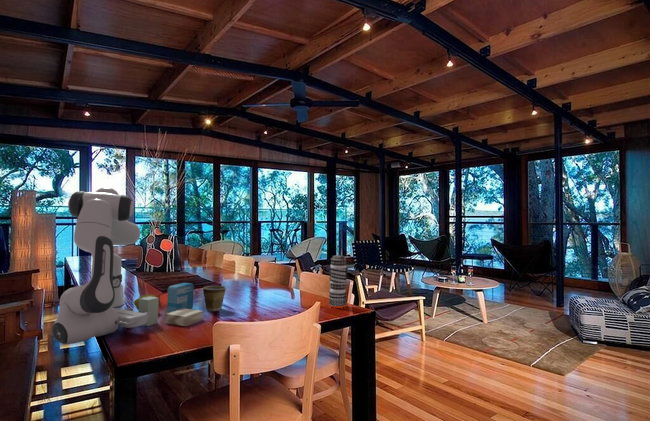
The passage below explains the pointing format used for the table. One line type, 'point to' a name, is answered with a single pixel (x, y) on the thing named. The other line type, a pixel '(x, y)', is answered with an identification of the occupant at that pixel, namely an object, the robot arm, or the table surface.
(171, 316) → the birch block
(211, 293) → the ceramic cup
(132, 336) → the table surface
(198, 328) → the table surface
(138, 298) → the lemon
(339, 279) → the decorative candle
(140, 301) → the sage block
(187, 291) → the blue rounded box
